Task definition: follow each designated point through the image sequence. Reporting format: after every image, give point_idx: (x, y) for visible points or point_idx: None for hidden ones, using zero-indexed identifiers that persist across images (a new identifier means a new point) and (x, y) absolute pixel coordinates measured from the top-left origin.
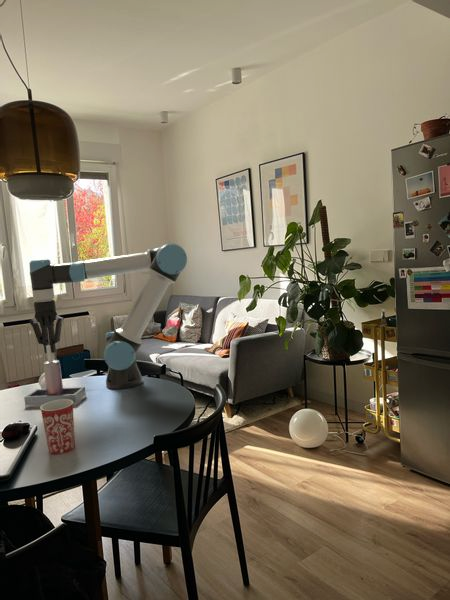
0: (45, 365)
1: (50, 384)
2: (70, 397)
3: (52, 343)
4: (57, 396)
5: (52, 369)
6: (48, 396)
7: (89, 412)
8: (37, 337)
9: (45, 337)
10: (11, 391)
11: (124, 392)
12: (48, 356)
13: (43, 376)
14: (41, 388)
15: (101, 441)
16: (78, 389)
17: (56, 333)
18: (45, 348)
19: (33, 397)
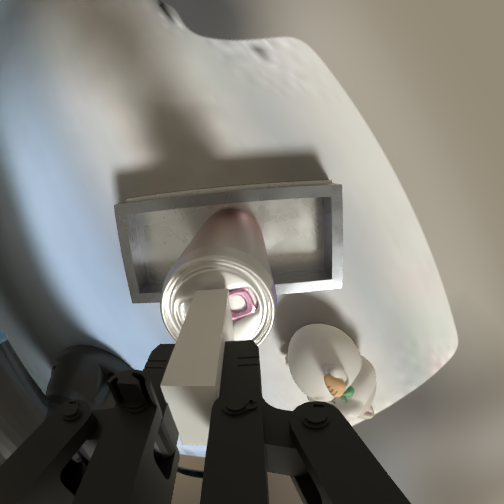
0: (237, 255)
1: (221, 221)
2: (136, 201)
3: (116, 400)
4: (188, 195)
5: (189, 249)
6: (229, 191)
7: (59, 138)
8: (367, 479)
9: (201, 491)
10: (444, 340)
11: (54, 314)
12: (213, 312)
13: (358, 382)
14: (346, 334)
15: (7, 14)
16: (153, 290)
17: (5, 485)
18: (242, 372)
19: (300, 186)
